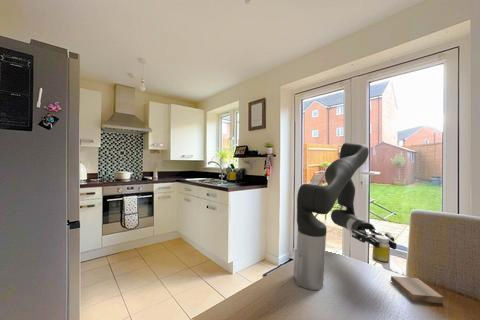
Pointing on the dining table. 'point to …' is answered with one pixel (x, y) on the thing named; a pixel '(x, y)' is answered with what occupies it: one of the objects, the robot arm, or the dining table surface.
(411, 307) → the dining table surface
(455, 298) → the dining table surface
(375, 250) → the supplement bottle
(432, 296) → the block
